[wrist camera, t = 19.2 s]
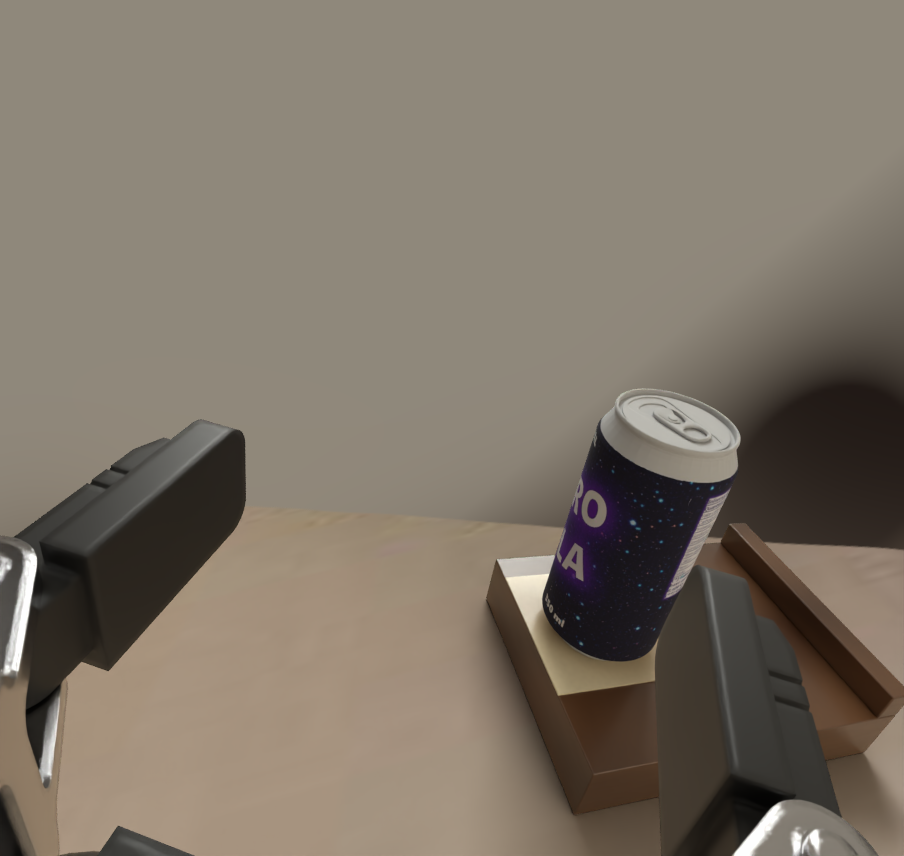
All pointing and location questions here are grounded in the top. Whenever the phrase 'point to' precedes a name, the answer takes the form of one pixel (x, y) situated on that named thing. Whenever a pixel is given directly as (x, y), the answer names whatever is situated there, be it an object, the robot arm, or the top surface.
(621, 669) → the wooden serving tray
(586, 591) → the beverage can
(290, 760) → the top surface
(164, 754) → the top surface
